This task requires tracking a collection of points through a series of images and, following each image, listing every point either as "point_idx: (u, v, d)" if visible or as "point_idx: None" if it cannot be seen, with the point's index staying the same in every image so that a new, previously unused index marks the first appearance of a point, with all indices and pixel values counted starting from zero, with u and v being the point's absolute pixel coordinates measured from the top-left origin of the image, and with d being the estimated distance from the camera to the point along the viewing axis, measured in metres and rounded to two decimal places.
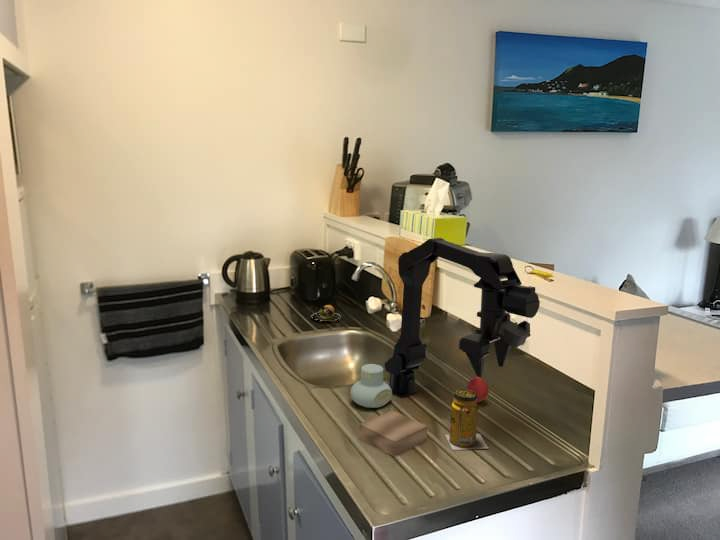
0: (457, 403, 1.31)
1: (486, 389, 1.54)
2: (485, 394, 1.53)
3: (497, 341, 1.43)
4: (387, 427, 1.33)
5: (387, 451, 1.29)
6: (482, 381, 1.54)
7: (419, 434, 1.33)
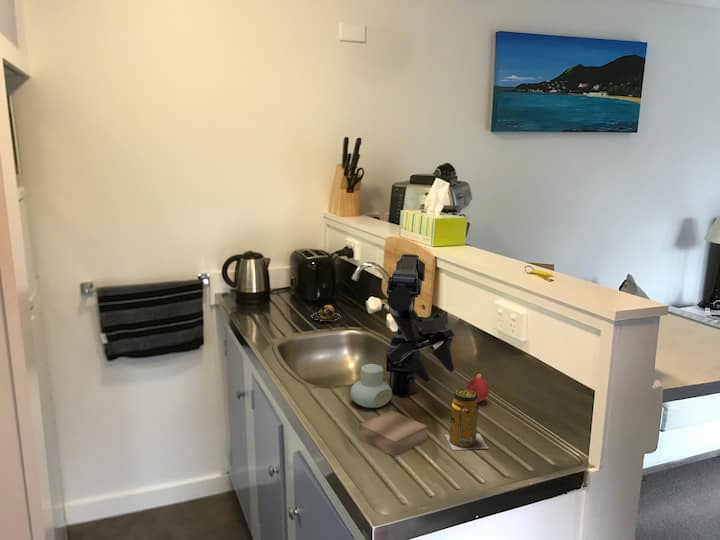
0: (457, 403, 1.31)
1: (486, 389, 1.54)
2: (485, 394, 1.53)
3: (437, 352, 1.45)
4: (387, 427, 1.33)
5: (387, 451, 1.29)
6: (482, 381, 1.54)
7: (419, 434, 1.33)
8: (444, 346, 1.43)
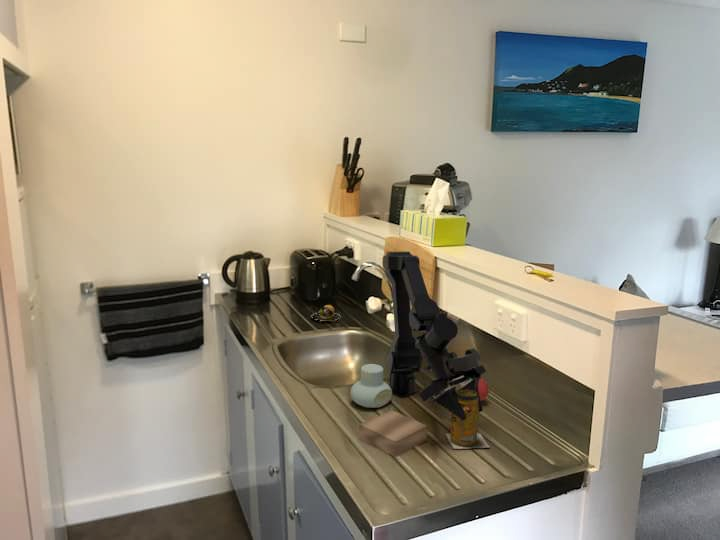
0: None
1: (486, 389, 1.54)
2: (485, 394, 1.53)
3: None
4: (388, 427, 1.33)
5: (387, 451, 1.29)
6: (482, 381, 1.54)
7: (419, 433, 1.33)
8: (472, 384, 1.36)
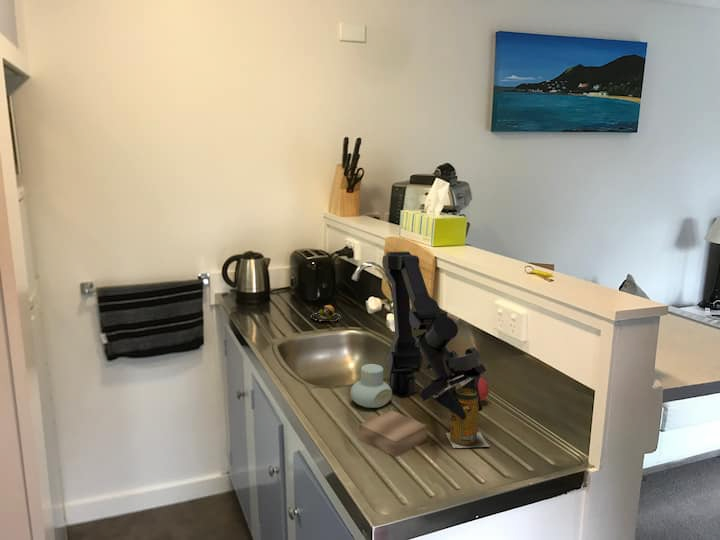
0: None
1: (486, 389, 1.54)
2: (485, 394, 1.53)
3: None
4: (387, 427, 1.33)
5: (388, 451, 1.29)
6: (482, 381, 1.54)
7: (419, 433, 1.33)
8: (472, 383, 1.36)
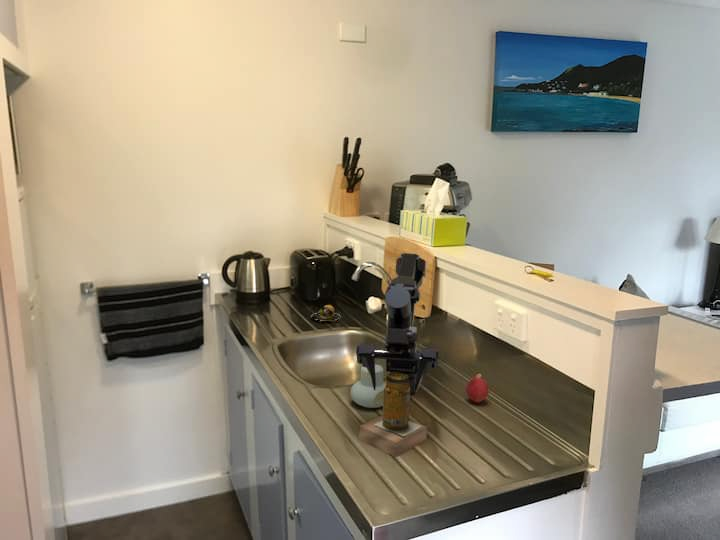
0: None
1: (486, 389, 1.54)
2: (485, 394, 1.53)
3: None
4: None
5: (388, 452, 1.29)
6: (482, 381, 1.54)
7: (419, 434, 1.33)
8: (418, 364, 1.33)
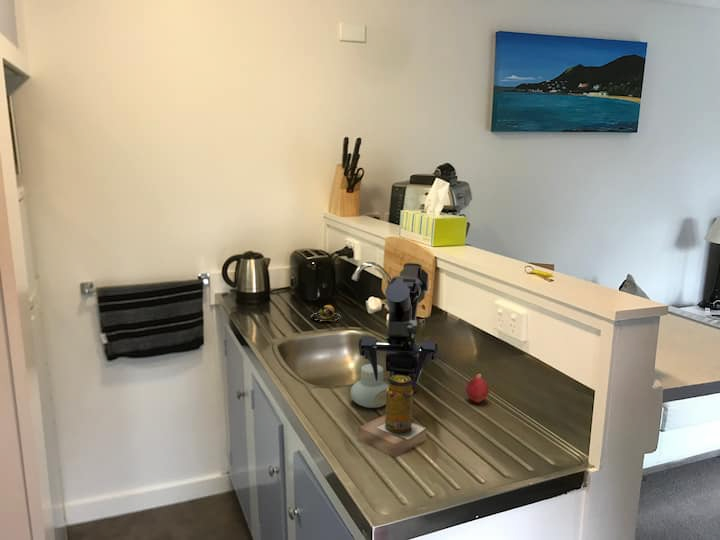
0: None
1: (486, 389, 1.54)
2: (485, 394, 1.53)
3: None
4: None
5: None
6: (482, 381, 1.54)
7: (418, 436, 1.33)
8: (418, 356, 1.38)
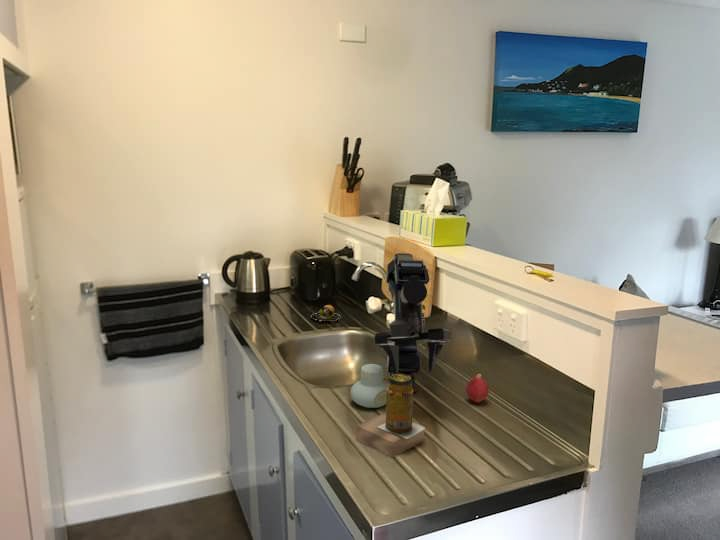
0: (388, 383, 1.32)
1: (486, 389, 1.54)
2: (485, 394, 1.53)
3: None
4: None
5: (385, 452, 1.28)
6: (482, 381, 1.54)
7: (416, 434, 1.32)
8: None
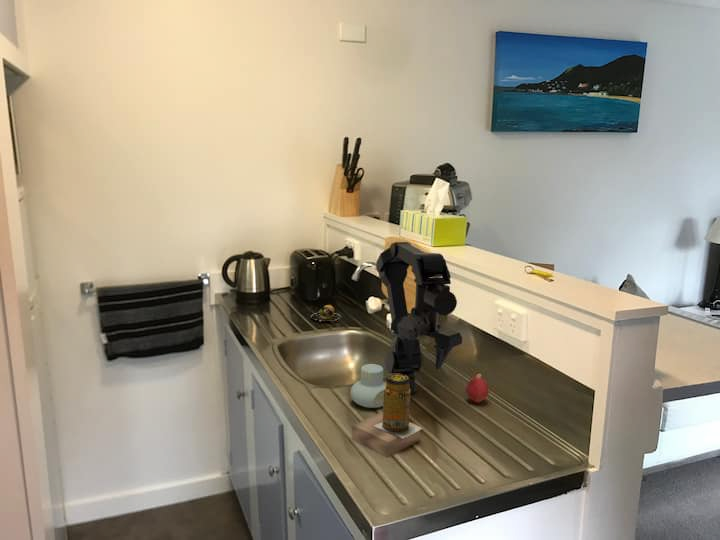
0: None
1: (486, 389, 1.54)
2: (485, 394, 1.53)
3: None
4: None
5: (381, 452, 1.29)
6: (482, 381, 1.54)
7: (412, 434, 1.33)
8: None
